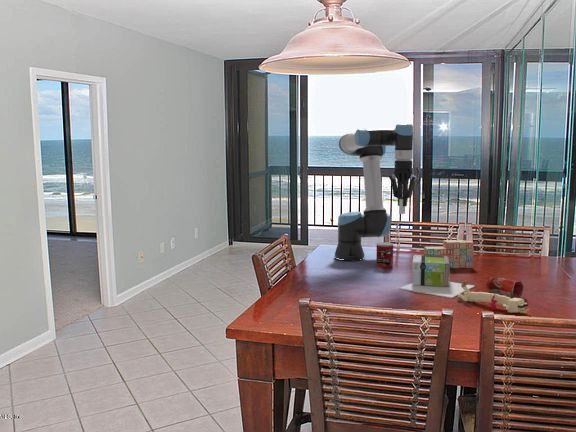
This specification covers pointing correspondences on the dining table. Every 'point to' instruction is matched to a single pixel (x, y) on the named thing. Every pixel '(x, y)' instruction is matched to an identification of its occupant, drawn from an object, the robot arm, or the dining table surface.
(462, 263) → the stack of blocks
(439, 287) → the mat
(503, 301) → the cat figure
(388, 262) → the canned food
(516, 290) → the beverage can
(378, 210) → the robot arm
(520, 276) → the dining table surface
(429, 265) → the tea box
